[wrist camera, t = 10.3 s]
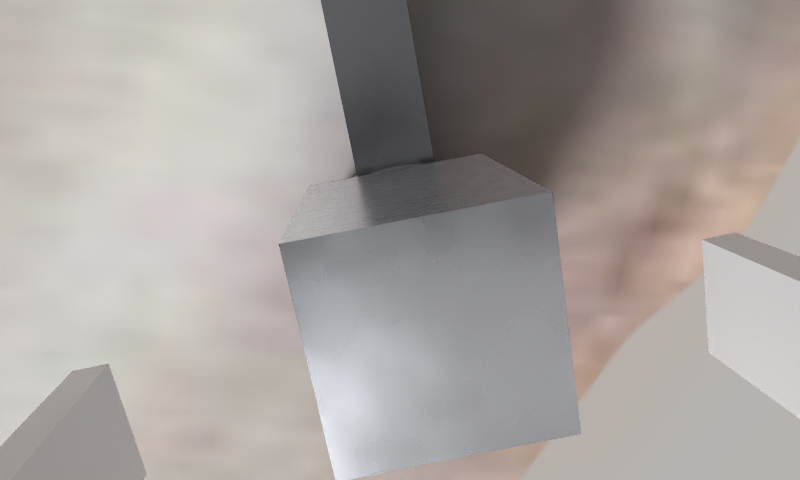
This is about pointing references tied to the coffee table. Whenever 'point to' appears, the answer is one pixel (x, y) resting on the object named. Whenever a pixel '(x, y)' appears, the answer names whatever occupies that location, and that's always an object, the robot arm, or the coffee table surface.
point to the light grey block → (431, 314)
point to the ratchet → (379, 83)
